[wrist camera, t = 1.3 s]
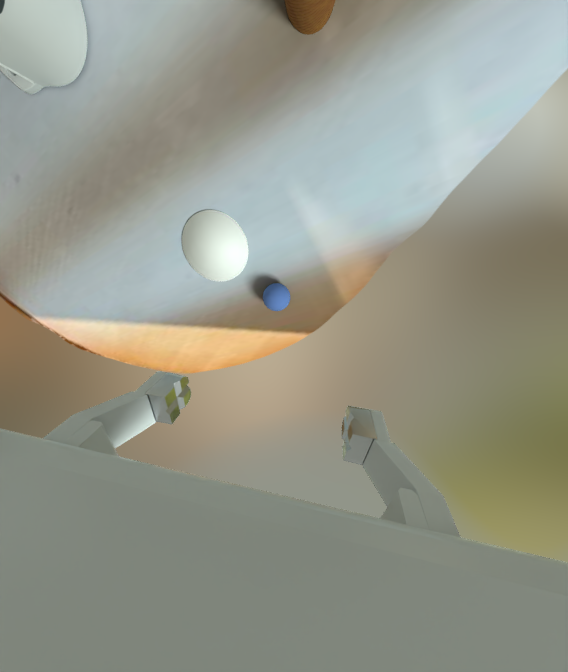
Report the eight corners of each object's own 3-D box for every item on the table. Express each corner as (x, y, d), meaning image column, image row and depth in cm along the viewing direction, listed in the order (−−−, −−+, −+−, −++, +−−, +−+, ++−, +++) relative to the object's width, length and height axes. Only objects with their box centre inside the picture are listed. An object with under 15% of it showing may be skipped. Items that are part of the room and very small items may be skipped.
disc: (172, 255, 44) (171, 255, 44) (199, 193, 38) (199, 193, 38) (228, 293, 47) (228, 293, 47) (261, 240, 41) (260, 240, 41)
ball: (259, 295, 47) (255, 304, 42) (274, 274, 44) (271, 281, 40) (280, 309, 48) (278, 320, 43) (295, 290, 46) (295, 299, 41)
